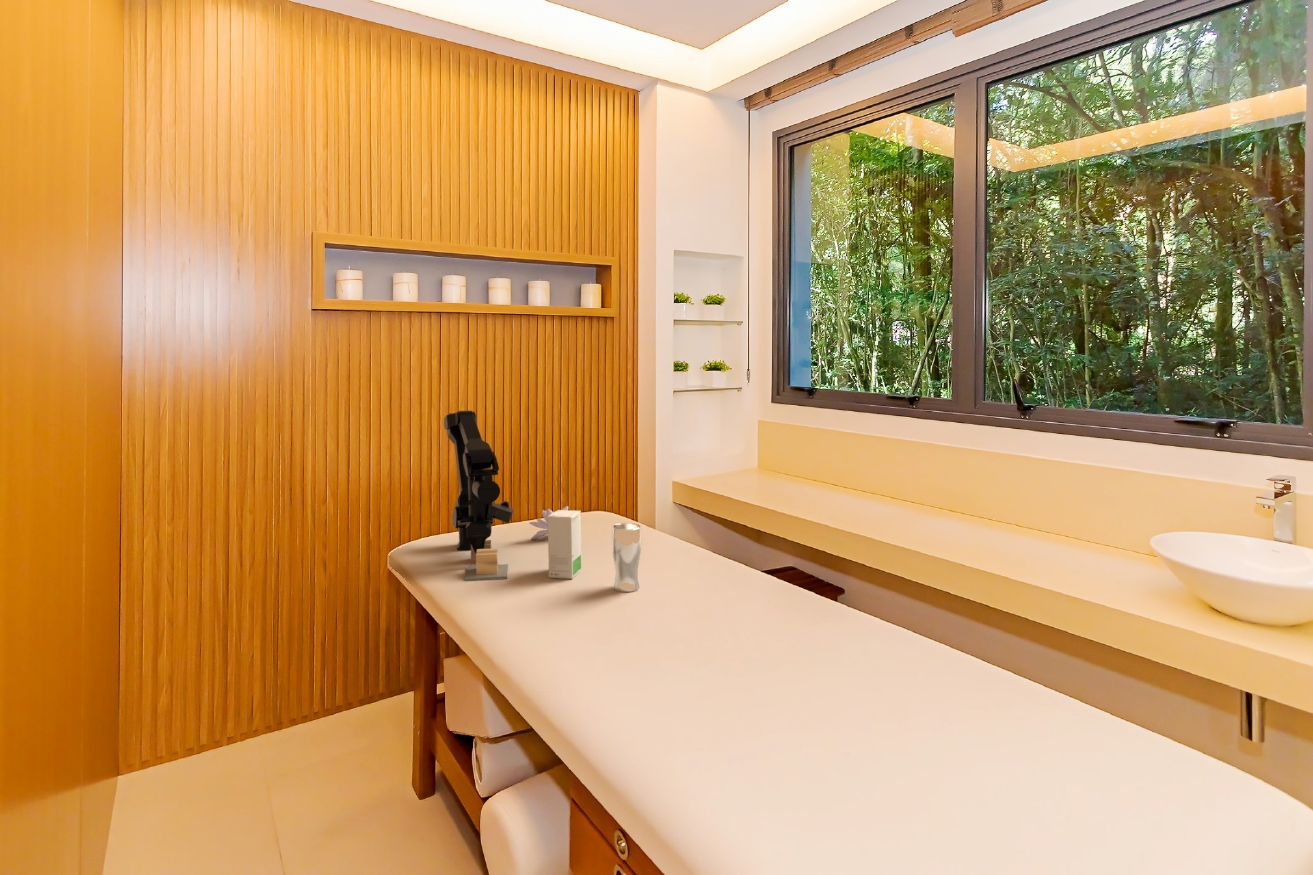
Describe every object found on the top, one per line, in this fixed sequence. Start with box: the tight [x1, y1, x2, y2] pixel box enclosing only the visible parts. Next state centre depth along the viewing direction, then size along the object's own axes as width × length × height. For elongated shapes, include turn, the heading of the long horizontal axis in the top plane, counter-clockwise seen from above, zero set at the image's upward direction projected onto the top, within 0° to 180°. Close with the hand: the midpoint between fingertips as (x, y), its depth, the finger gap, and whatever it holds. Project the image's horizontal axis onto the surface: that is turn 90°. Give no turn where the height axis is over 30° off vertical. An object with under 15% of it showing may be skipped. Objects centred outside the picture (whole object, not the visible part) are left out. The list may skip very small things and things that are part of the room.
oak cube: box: [475, 547, 499, 575], centre depth 181 cm, size 5×5×5 cm
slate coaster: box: [464, 563, 509, 582], centre depth 181 cm, size 10×10×1 cm
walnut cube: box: [470, 539, 492, 565], centre depth 191 cm, size 5×5×5 cm
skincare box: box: [547, 509, 583, 580], centre depth 181 cm, size 8×7×16 cm
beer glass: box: [611, 522, 642, 593], centre depth 171 cm, size 7×7×15 cm
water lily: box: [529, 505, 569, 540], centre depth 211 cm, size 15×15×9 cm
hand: (481, 553), depth 192 cm, fingers open, 9 cm apart
